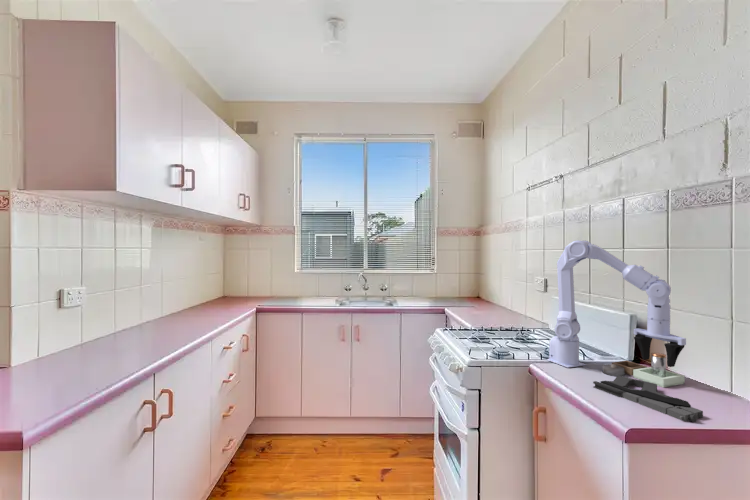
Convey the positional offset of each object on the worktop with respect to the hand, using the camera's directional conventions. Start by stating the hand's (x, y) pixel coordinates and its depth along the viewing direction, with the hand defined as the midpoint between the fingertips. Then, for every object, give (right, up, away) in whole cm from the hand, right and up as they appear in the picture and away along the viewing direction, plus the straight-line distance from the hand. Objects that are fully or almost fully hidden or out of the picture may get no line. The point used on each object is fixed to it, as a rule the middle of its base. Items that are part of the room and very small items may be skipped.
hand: (658, 362), depth 118 cm
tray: (0, -6, 0) cm, 6 cm away
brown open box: (-6, -6, +8) cm, 11 cm away
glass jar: (0, -5, 0) cm, 5 cm away
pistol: (-12, -6, -14) cm, 19 cm away
